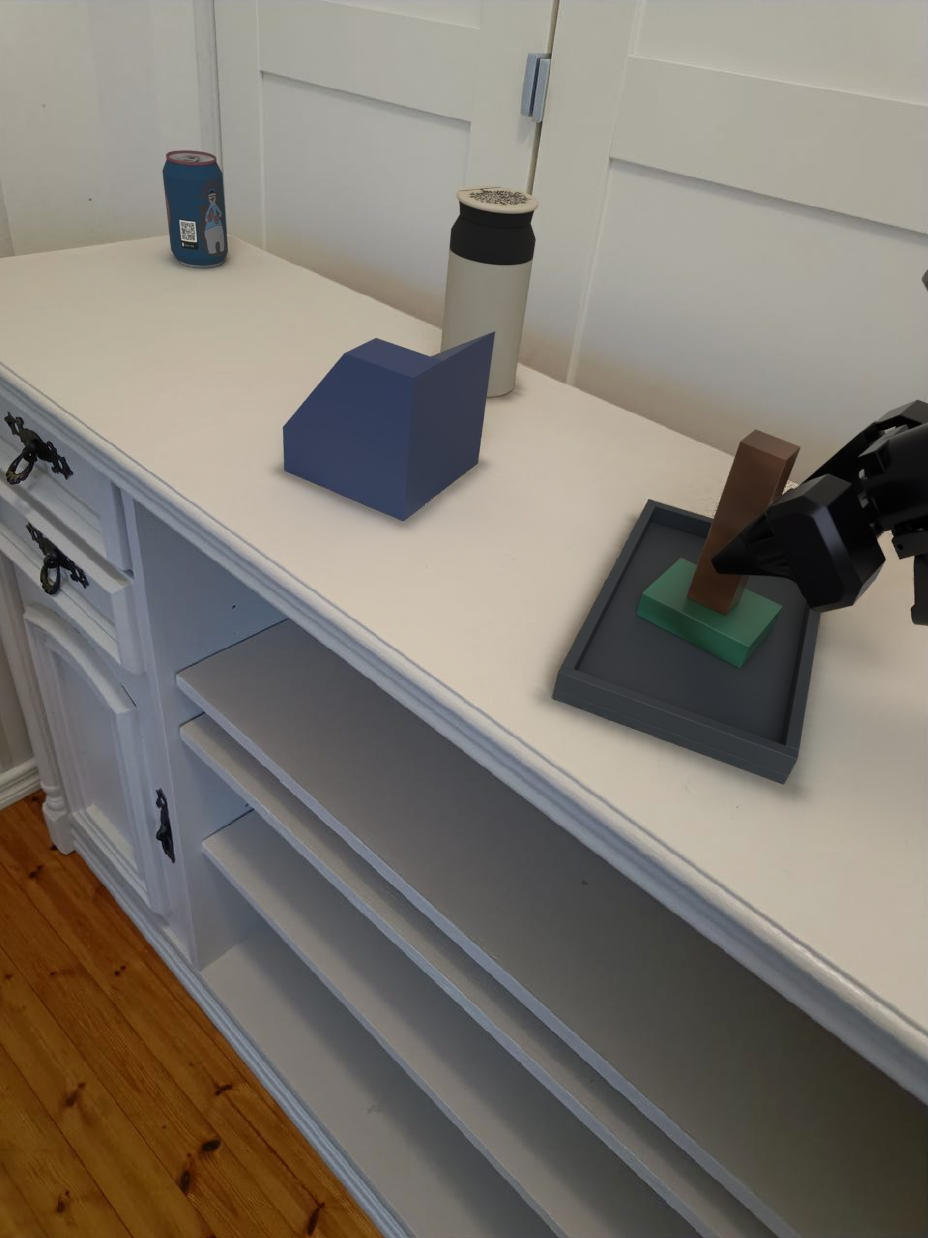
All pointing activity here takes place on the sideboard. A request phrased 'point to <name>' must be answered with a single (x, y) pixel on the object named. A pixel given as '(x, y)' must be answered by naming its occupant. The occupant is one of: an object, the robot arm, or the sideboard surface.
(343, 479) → the phone stand
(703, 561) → the brown post on base
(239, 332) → the sideboard surface
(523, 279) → the travel mug
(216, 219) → the soda can
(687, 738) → the tray
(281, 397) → the sideboard surface
